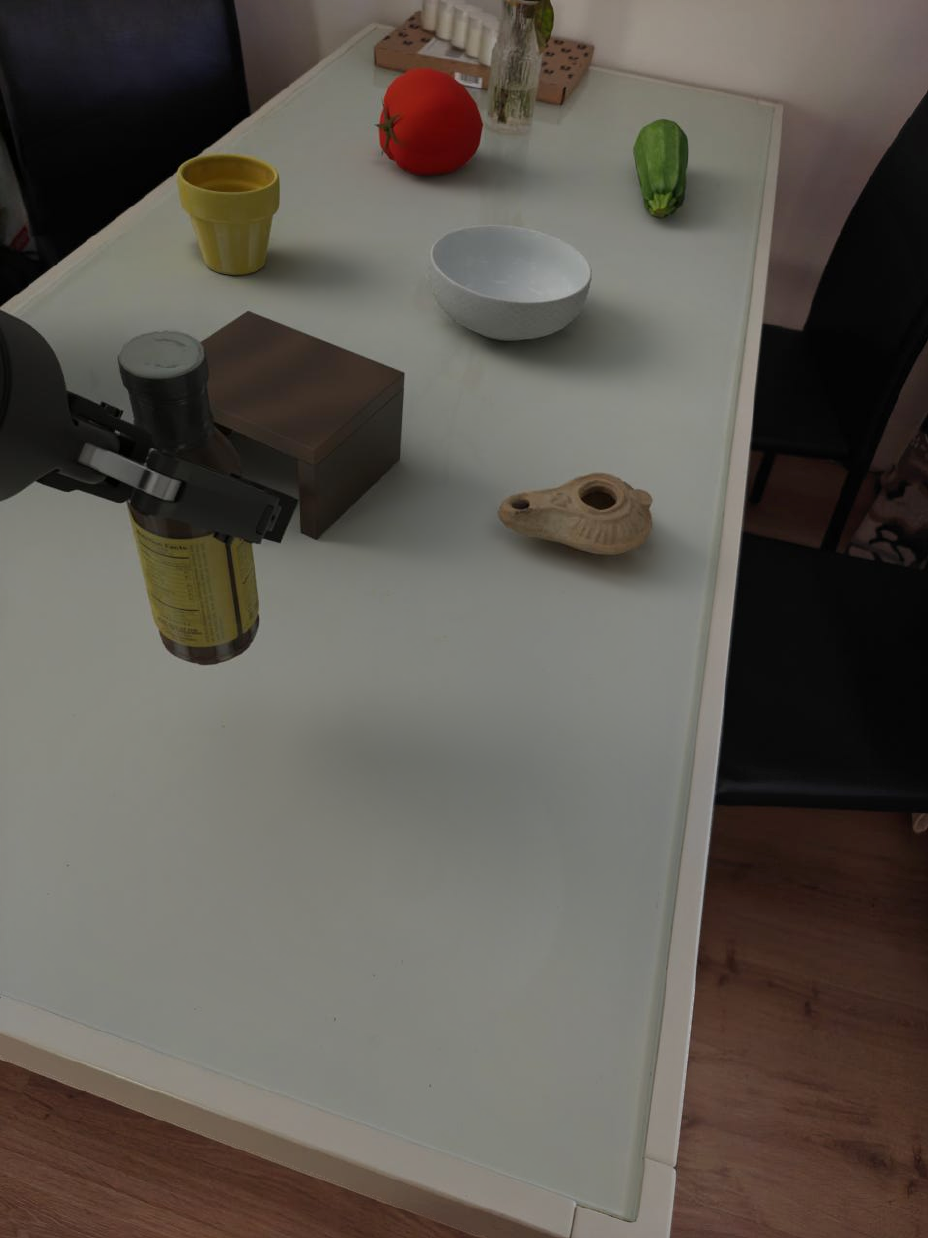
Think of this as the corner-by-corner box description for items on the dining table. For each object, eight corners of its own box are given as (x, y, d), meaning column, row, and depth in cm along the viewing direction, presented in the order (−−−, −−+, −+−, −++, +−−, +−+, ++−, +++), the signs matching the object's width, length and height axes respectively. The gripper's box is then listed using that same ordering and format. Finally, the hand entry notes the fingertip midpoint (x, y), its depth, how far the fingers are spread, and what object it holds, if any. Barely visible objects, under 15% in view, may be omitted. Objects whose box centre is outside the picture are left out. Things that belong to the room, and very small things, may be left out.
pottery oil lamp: (486, 501, 85) (522, 427, 82) (608, 551, 88) (647, 481, 85) (498, 540, 77) (539, 459, 74) (631, 593, 80) (675, 517, 78)
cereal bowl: (611, 345, 105) (625, 283, 100) (477, 380, 98) (485, 315, 93) (524, 271, 115) (533, 211, 109) (397, 298, 108) (400, 235, 103)
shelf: (160, 468, 85) (146, 377, 78) (254, 397, 93) (248, 309, 86) (316, 540, 80) (314, 450, 74) (400, 459, 88) (405, 372, 82)
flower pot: (248, 230, 115) (242, 143, 108) (301, 267, 110) (298, 179, 103) (169, 253, 110) (157, 163, 103) (221, 293, 105) (212, 202, 98)
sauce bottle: (219, 580, 64) (186, 299, 49) (281, 635, 61) (266, 354, 47) (132, 629, 61) (70, 341, 46) (194, 689, 58) (149, 404, 43)
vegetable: (681, 102, 133) (687, 164, 120) (692, 154, 138) (699, 219, 124) (627, 121, 136) (627, 183, 122) (640, 172, 140) (642, 237, 127)
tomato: (460, 176, 138) (375, 192, 133) (439, 77, 134) (350, 89, 129) (506, 155, 127) (415, 172, 122) (484, 46, 123) (390, 58, 118)
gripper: (168, 380, 32) (403, 498, 54) (-237, 203, 37) (129, 378, 59) (79, 591, 33) (348, 623, 55) (-308, 388, 38) (81, 493, 60)
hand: (234, 495), depth 57 cm, fingers closed on sauce bottle, 6 cm apart
